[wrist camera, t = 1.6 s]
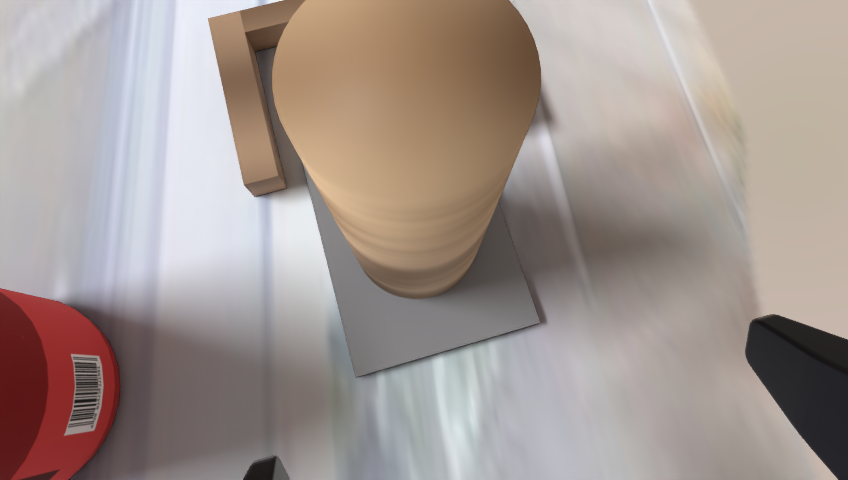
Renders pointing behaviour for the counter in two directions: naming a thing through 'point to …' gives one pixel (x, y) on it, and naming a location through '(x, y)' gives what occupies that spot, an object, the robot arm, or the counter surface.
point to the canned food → (52, 388)
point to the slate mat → (424, 300)
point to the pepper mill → (408, 125)
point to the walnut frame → (251, 88)
